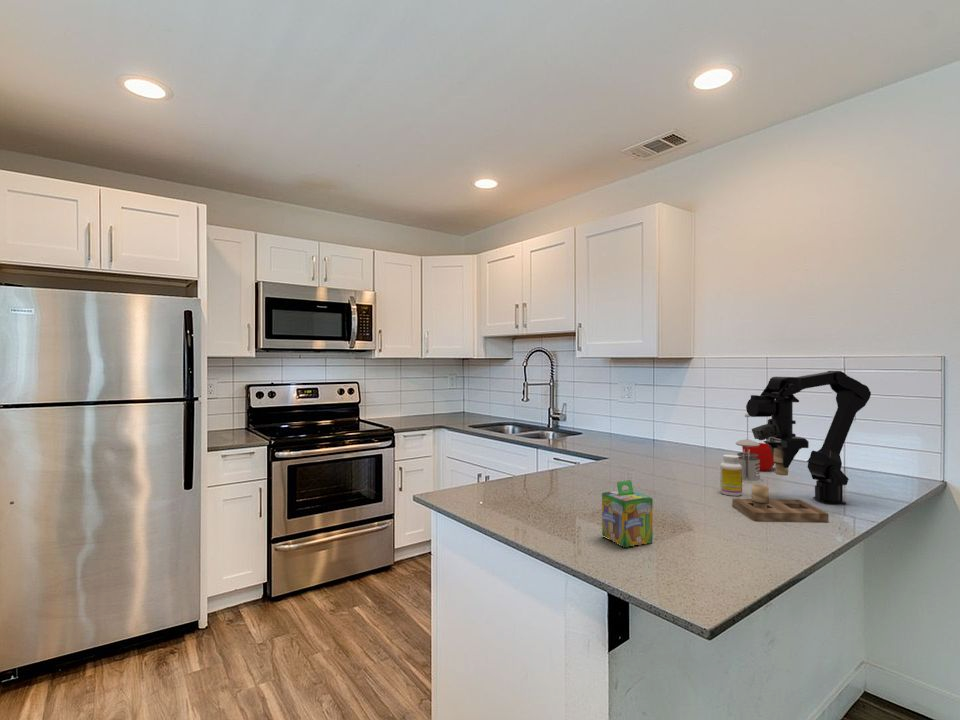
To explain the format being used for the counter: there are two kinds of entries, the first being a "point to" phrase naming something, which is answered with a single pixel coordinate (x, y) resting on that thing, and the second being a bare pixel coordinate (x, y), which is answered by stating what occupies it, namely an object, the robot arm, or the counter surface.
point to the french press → (749, 460)
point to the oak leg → (779, 463)
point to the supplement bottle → (731, 476)
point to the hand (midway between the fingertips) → (781, 466)
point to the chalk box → (627, 516)
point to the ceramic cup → (762, 456)
